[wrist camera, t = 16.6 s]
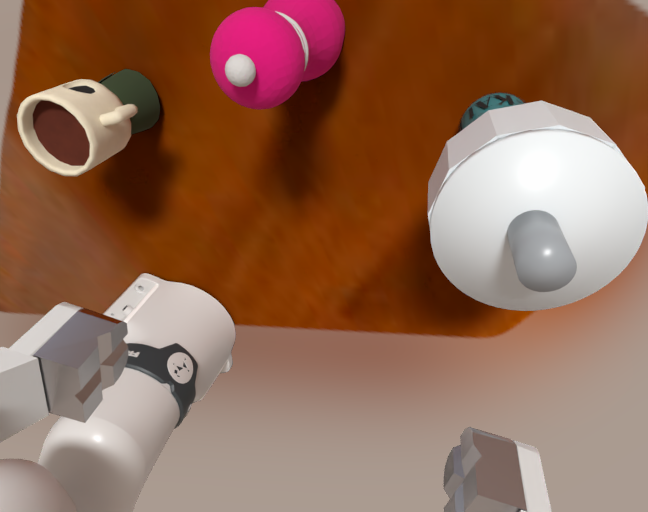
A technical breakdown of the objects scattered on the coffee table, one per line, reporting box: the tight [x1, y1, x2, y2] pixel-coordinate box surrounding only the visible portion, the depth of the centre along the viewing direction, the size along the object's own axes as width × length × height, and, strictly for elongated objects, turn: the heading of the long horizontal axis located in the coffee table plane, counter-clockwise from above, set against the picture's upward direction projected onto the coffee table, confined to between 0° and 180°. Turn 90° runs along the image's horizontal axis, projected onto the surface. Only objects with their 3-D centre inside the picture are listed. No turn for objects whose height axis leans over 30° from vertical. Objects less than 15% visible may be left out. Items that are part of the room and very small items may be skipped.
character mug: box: [17, 69, 160, 176], centre depth 45 cm, size 11×7×13 cm, turn 107°
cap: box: [428, 101, 648, 311], centre depth 28 cm, size 12×12×10 cm
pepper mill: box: [210, 0, 345, 109], centre depth 35 cm, size 7×7×20 cm
